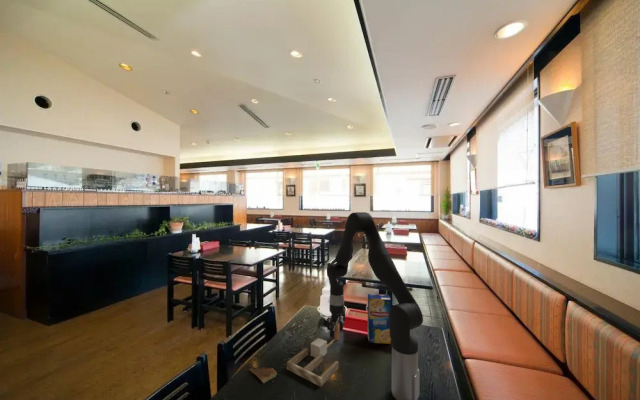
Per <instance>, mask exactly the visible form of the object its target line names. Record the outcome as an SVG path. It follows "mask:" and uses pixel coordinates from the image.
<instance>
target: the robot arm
mask: <svg viewBox="0 0 640 400" xmlns="http://www.w3.org/2000/svg"><path fill="white" fill-rule="evenodd" d="M357 233H364V235H365V237H366V239H367V241H368V252H367V261H368V263H369V265H370V267H371V270H372V272H373V274H374V276H375V277H376V278H377V279H378V280H379V281H380V282H381V283H382V284H383V285H384V286H385V287H387V288H388V289H389V290H390V291H391V292H392V295H394V297H395V299H396V301H397V304H394V305H391V309H390V312H389V329H390V338H391V395H392V397H394V398H395V400H418V399H419V397H420V389H421V388H420V380H421V379H420V377H421V376H420V368H419V343H418V341H417V339H416V338H415V337H413V336H411V330H414V329H416V328H418V327H420V326H421V325H422V324H423V322H424V315H423V312H422V309H421V307H420V306H419V304H418V303H417V301H416V299H415V298H414V297H413V295H412V293H411V292H410V290H409V289H408V287H407V285H406V284H405V282H404V280H403V278H402V276H401V274H400V273H399V271H398V269H397V267H396V264H395V263H394V261H393V259H392V257H391V255H390V253H389V251H388V250H387V248H386V246H385V244H384V242H383V240H382V237H381V235H380V232H379V230H378V228H377V226H376V223H375V221H374V217H372V215H371V214H370V213H369V212H364V211H363V212H361V211H360V212H359V211H357V212H352V213H350V214H349V215H348V217H347V219H346V222H345V226H344V229H343V234H342V235H343V236H342V240H341V242H340V246H339V249H338V250H337V253H336V255H335V257H334V258H335V259H334V261H335V262H336V263H331V264H328V266H327V267H326V275H327V277H328V278H327V279H328V282H329V305H328V306H329V312H330V314H331V316H330V317H327V321H326V322H327V324H326V329H327V331H329V337H330V338H332V339H334V329H335V326H337V323H340V326H339V332H343V330H344V326H343V325H344V322H345V321H346V309H345V296H344V294H345V293H344V290H345V289H344V288H345V286H344V283H343V281H341V280H337V278H341V277H345V276H346V275H347V273H348V270H349V263H350V261H351V259H352V257H353V253H354V245H353V238H354V236H355V235H356V234H357ZM334 323H335V324H334Z"/></svg>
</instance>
